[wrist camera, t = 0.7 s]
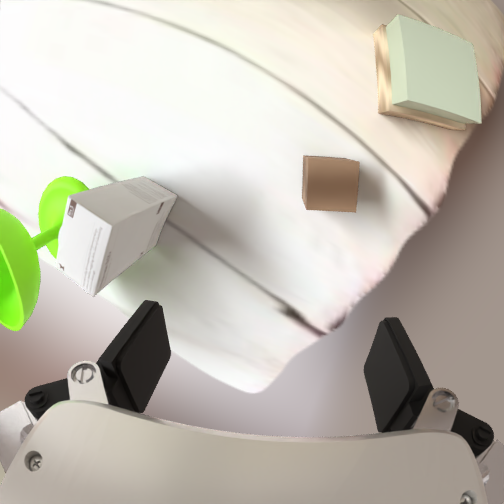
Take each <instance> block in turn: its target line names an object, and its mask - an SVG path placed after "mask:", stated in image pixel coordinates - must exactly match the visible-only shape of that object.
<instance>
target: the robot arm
mask: <svg viewBox="0 0 504 504" xmlns="http://www.w3.org/2000/svg"><path fill="white" fill-rule="evenodd" d="M170 356H171V350H170V345H169V340H168V335H167V330H166V324H165V319H164V313H163V308H162V306H160V305H159V303H158V302H155V301H148V300H145V301H144V302H143V303H142V304H141V305H140V307H139V308H138V309H137V310H136V312H135V313H134V314H133V315H132V317H131V318H130V319H129V320H128V322H127V323H126V324H125V325H124V327H123V328H122V329H121V331H120V332H119V333H118V335H117V336H116V337H115V338H114V340H113V341H112V342H111V343H110V345H109V346H108V347H107V349H106V350H105V352H104V353H103V354H102V355H101V357H100V358H99V360H98V361H97V363H94V362H92V361H80V362H78V363H76V364H74V365H73V366H72V367H71V368H70V369H69V371H68V378H66V379H63V380H59V381H56V382H52V383H48V384H45V385H41V386H37V387H34V388H32V389H31V390H30V391H29V392H28V393H27V394H26V397H25V402H22V401H21V400H20V401H18V402H17V403H15V404H13V405H11V406H9V407H8V408H6V409H4V410H2V411H0V461H1V464H2V466H3V468H4V471H5V473H6V475H5V476H4V479H3V481H2V483H1V485H0V504H502V503H503V502H504V445H503V444H502V443H501V442H500V441H498V440H496V441H494V440H493V439H494V433H493V430H492V428H491V427H490V426H489V425H488V424H487V423H485V422H483V421H481V420H479V419H477V418H475V417H473V416H471V415H469V414H467V413H465V412H463V411H461V410H459V409H458V405H459V402H458V398H457V397H456V395H455V394H454V393H453V392H452V391H450V390H449V389H446V388H436V389H434V388H433V386H432V384H431V382H430V379H429V377H428V375H427V373H426V371H425V369H424V367H423V364H422V363H421V361H420V358H419V356H418V354H417V353H416V350H415V349H414V346H413V345H412V343H411V341H410V339H409V337H408V335H407V333H406V331H405V330H404V327H403V326H402V324H401V322H400V320H399V319H398V318H397V317H392V318H385V319H384V320H383V321H381V322H380V323H379V326H378V329H377V333H376V335H375V339H374V341H373V344H372V347H371V349H370V352H369V355H368V357H367V360H366V363H365V365H364V375H365V379H366V382H367V386H368V390H369V394H370V398H371V402H372V406H373V411H374V415H375V420H376V424H377V429H378V431H379V432H382V433H377V434H367V435H355V436H339V437H280V436H263V435H252V434H242V433H234V432H226V431H219V430H213V429H206V428H201V427H195V426H190V425H185V424H181V423H176V422H172V421H168V420H164V419H160V418H155V417H151V416H148V415H144V414H140V413H143V412H144V410H145V408H146V406H147V404H148V402H149V400H150V398H151V396H152V394H153V392H154V390H155V388H156V386H157V384H158V381H159V379H160V377H161V375H162V373H163V371H164V369H165V367H166V365H167V363H168V361H169V359H170Z"/></svg>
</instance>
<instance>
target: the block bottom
mask: <svg viewBox="0 0 504 504" xmlns="http://www.w3.org/2000/svg"><path fill="white" fill-rule="evenodd" d="M386 26H387V25H383V24H382V25H381V26H380V27H379V28H378V29H377V30H376V32H375V33H374V34H373V38H374V47H375V57H376V69H377V85H378V113H379V114H385V115H391V116H396V117H401V118H406V119H411V120H415V121H420V122H424V123H428V124H432V125H436V126H440V127H443V128H447V129H450V130H466V123H465V124H462V123H459V122H456V121H453V120H450V119H447V118H443V117H440V116H437V115H433V114H430V113H426V112H422V111H418V110H414V109H410V108H406V107H401V106H397V105H392V87H391V70H390V58H389V48H388V40H387V32H386Z"/></svg>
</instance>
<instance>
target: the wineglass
mask: <svg viewBox="0 0 504 504" xmlns="http://www.w3.org/2000/svg"><path fill="white" fill-rule="evenodd" d="M86 190H89V189H88V188H87V187H86V186H85V185H84V184H83V183H82V182H81V181H79V180H77V179H75V178H73V177H66V176H63V177H60V178H56V179H55V180H54V181H52V182H51V183H50V184H49V185H48V186H47V188H46V189H45V191H44V192H43V194H42V197H41V201H40V204H39V213H38V215H39V226H40V230H41V233H40V234H38V235H36V236H35V237H33V238H31V237H30V235H29V233H28V232H27V230H26V229H25V227H24V226H23V225H22V224H21V222H20V221H19V220H18V219H17V218H16V217H14V216H13V215H11V214H10V213H8V212H6V211H5V210H3V209H0V323H1V324H2V325H4V326H5V327H6V328H8V329H11V330H13V331H18V330H20V329H21V328H22V326H23V325H24V324H25V323H26V321H27V320H28V319H29V317H30V316H31V315H32V312H33V310H34V308H35V305H36V303H37V299H38V294H39V287H40V268H39V261H38V255H37V251H36V250H38V249H40V248H41V247H43V246H45V245H46V246H47V248H48V249H49V251H50V252H51V254H52V255H53V256H54V257H55V258H56V259H57V253H58V246H59V244H58V235H59V231H60V228H61V226H62V224H63V219H64V214H65V209H66V204H67V199H68V196H69V195H72V194H75V193H79V192H82V191H86Z"/></svg>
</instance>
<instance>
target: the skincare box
mask: <svg viewBox="0 0 504 504" xmlns="http://www.w3.org/2000/svg"><path fill="white" fill-rule="evenodd" d="M176 199H177V195H176V194H174V193H172V192H170V191H169V190H167V189H165V188H163V187H162V186H160V185H158V184H156V183H155V182H153V181H151V180H149V179H147V178H146V177H144V176H142V177H138V178H133V179H129V180H125V181H121V182H116V183H112V184H108V185H104V186H101V187H97V188H93V189H90V190H86V191H82V192H79V193H75V194H72V195H69V196H68V199H67V204H66V209H65V214H64V219H63V224H62V226H61V228H60V231H59V235H58V244H59V246H58V253H57V259H56V264H55V268H56V269H58V270H59V271H60V272H61V273H63V274H64V275H65V276H66V277H68V278H69V279H70V280H72V281H73V282H74V283H76V284H77V285H78V286H80V287H81V288H82V289H83V290H84V291H86V292H87V293H88V294H90V295H91V296H93V297H94V296H95V295H96V294H97V293H98V292H100V291H101V290H102V289H103V288H104V287H105V286H107V285H108V284H109V283H110V282H111V281H112V280H114V279H115V278H116V277H117V276H119V275H120V274H121V273H122V272H123V271H125V270H126V269H127V268H128V267H130V266H131V265H132V264H133V263H135V262H136V261H137V260H138V259H140V258H141V257H142V256H143V255H145V254H146V253H147V252H148V251H150V250H151V249H152V248H154V247H155V246H156V244H157V242H158V238H159V235H160V233H161V230H162V228H163V225H164V223H165V221H166V219H167V216H168V214H169V212H170V210H171V208H172V206H173V204H174V203H175V201H176Z"/></svg>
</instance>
